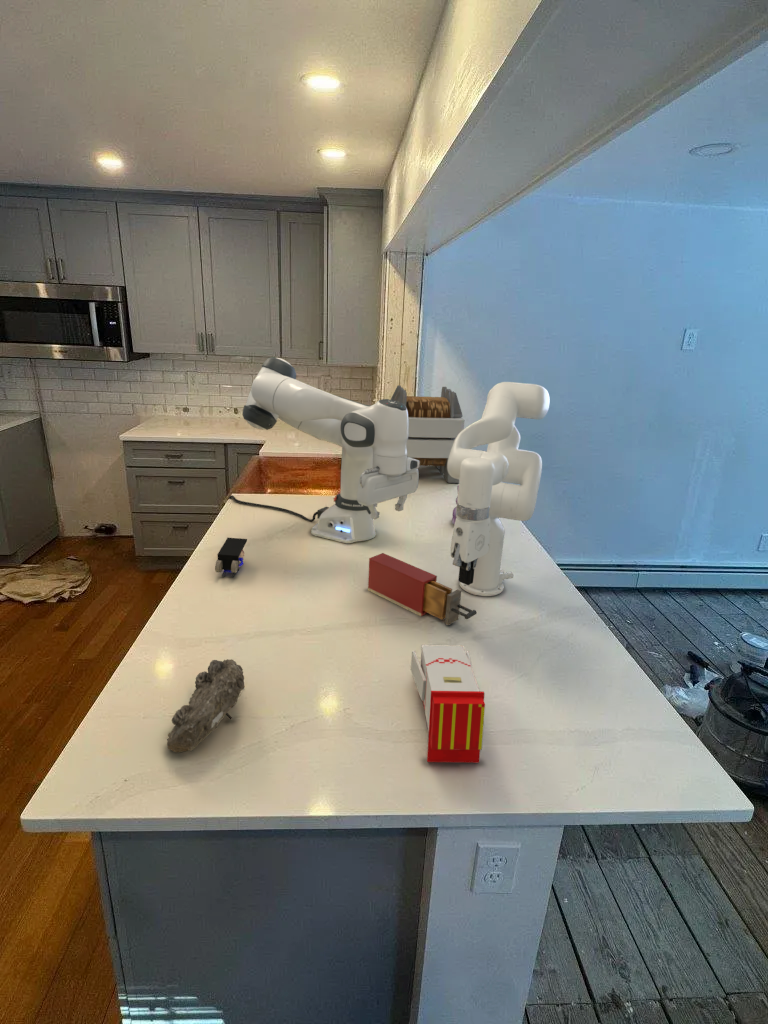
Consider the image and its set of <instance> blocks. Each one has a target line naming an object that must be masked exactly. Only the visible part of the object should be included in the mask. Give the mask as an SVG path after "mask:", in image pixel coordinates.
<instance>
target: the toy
mask: <svg viewBox="0 0 768 1024" xmlns="http://www.w3.org/2000/svg"><path fill="white" fill-rule="evenodd" d="M410 671H411V676H412V677H413V680H414V683H415V686H416V689H417V692H418V694H419V697H420V700H421V701H422V704H423V705H422V706H423V709H424V715H425V721H426V727H427V731H428V739H427V753H426V754H427V757H426V761H427V762H428V763H476V764H477V763H480V754H481V750H482V748H483V747H482V746H483V736H484V722H485V709H486V703H485V691H481V689H480V687H479V684H478V682H477V679H476V677H475V673H474V669H473V665H472V660H471V654H470V650H465V646H464V645H462V644H461V645H459V644H455V645H454V644H453V645H452V644H421V648H420V660H419V658H418V656H417V652H416V650H412V652H411V661H410Z"/></svg>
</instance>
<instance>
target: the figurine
mask: <svg viewBox="0 0 768 1024" xmlns="http://www.w3.org/2000/svg"><path fill="white" fill-rule="evenodd" d="M456 490H457V491H456V492H457V493H458V490H459V484H458V485H457V486H456ZM457 501H458V495H457V496H456V498H455V505H456V506H455V507H454V508H453V510H452V519H451V525H453V526H454V524H455V520H456V518H457V517H456V511H457Z"/></svg>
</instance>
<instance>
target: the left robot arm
mask: <svg viewBox="0 0 768 1024" xmlns="http://www.w3.org/2000/svg"><path fill="white" fill-rule="evenodd" d="M248 393H249V394H248V396H247V399H246V403H245V405H243V409H242V417H243V419H244V421H246V423H247V424H248V425H250V426H251V427H253V428H254V429H258V430H266V431H268V430H271V429H273V428H274V427H275V425H276V424H277V422H278V419H279V420H281V421H282V422H284V423H285V424H287V425H288V426H290V427H292V428H294V429H295V430H298V431H300V432H302V433H304V434H306V435H309V436H310V437H313V438H315V439H317V440H319V441H324V442H326V443H330V444H334V445H335V446H337V447H338V446H339V447H341V462H340V463H341V466H340V490H339V491H338V492H337V494H336V495H335V496H334V497H333V502H334V504H333V505H331V506H324V507H322V508H318V509H317V511H315V512H314V513H313V514H312V518H311V519H310V518H307V517H306V516H305V515H303V514H301V513H299V512H295V511H293V510H290V509H287V508H284V507H278V506H273V505H269V504H262V503H254V502H249V501H244V500H239V499H237V498H236V497H235V496H234V495H232V494H231V495H229V496H228V499H232V500H233V501H235V502H236V503H238V504H242V505H246V506H247V505H248V506H254V507H260V508H267V509H272V510H278V511H282V512H285V513H289V514H291V515H293V516H296V517H299V518H301V519H303V520H305V521H307V522H310V523H312V522H314V521H315V520H316V519H318V521H317V523H315V524H314V525H313V526H312V528H311V530H310V533H311V536H315V537H319V538H323V539H326V540H330V541H336V542H339V543H343V544H352V543H357V542H365V541H368V540H372V539H373V538H375V537H376V535H377V532H376V528H375V523H374V520H377V519H379V518H380V511H378V510H377V508H378V504H381V503H383V502H386V501H391V500H394V499H398V500H397V503H395V504H394V510H395V511H396V512H401V511H404V506H405V503H406V500H407V499H408V495H410V494H414V493H416V492H417V490H418V487H419V479H420V478H419V476H420V475H419V474H420V473H419V472H420V471H419V467H420V466H419V460H416V459H413V458H410V457H408V456H407V448H406V443H407V439H408V432H409V418H408V411H407V408H406V406H405V405H404V404H403V403H401V402H398V401H395V400H391V399H389V398H382V399H379V400H377V401H376V402H375V403H374V404H372V405H370V404H365V403H362V402H359V401H356V400H353V399H349V398H346V397H344V396H340V395H336V394H334V393H330V392H328V391H326V390H322V389H319V388H317V387H315V386H312V385H310V384H308V383H306V382H303V381H301V380H298V379H297V371H296V369H295V367H294V366H292V364H291V363H290V362H289V361H287V360H285V359H283V358H281V357H274V356H271V357H268V358H266V359H265V361H264V362H263V363H262V365H261V368H260V370H259V372H258V373H257V374H256V376H255V378H254V379H253V381H252V384H251V386H250V391H249V392H248ZM316 517H317V518H316Z"/></svg>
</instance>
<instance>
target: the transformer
mask: <svg viewBox="0 0 768 1024" xmlns="http://www.w3.org/2000/svg"><path fill="white" fill-rule="evenodd" d="M440 393H441V394H440V396H415V395H414V396H413V395H412V396H411V395H407V394H408V393H407V390H406V389H404V388H403V387H402V385H399V384H398V385H397V386H396V388H395V390H394V392H393V394H392V395H391V398H390V400H395V401H398V402H401V403H403V404H404V405H405V406H406V408H407V411H408V418H409V432H408V439H407V443H406V448H407V456H408V457H410V458H413V459H416V460H419V467H436V468H437V470H438V469H439V473H440V474H441V475H443V478H444V479H445V481H446V482H447V483H449V484H455V483H456V484H459V479H455V478H453V477H451V476H450V475H449V473H448V470H447V462H448V458H449V454H450V451H451V449H452V446H453V443H454V441H455V439H456V437H457V436H458V434H459V433H460V432H461V431H462V430H464V429H465V419H464V418H463V411H462V408H461V405H460V402H459V398H458V395H457V392H455V391H453V390H452V389H451V388H447V386H442V387H441V392H440Z"/></svg>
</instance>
